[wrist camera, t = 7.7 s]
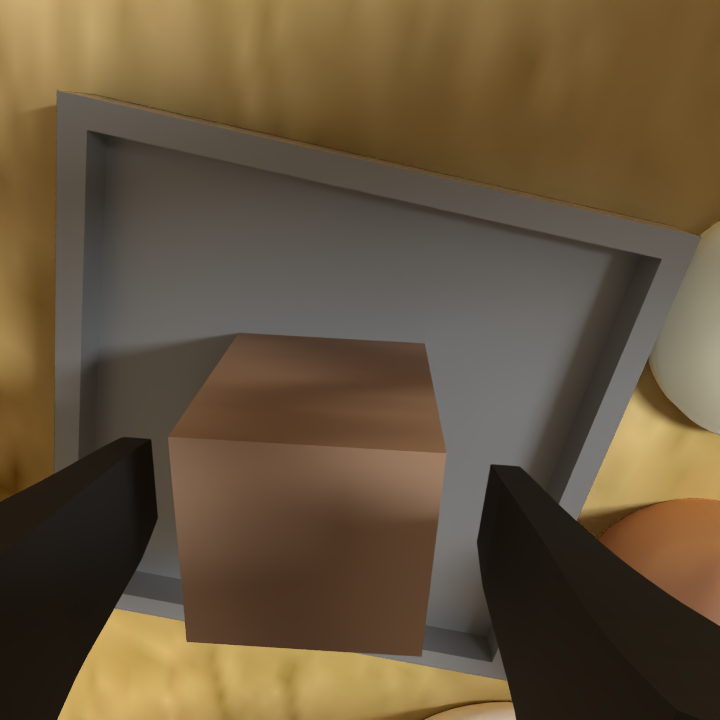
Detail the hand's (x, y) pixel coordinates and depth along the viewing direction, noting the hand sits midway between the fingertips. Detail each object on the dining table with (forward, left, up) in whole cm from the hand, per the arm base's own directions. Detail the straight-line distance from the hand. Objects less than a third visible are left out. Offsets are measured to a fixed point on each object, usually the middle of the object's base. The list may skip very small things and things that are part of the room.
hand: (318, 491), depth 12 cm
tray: (0, 0, -3) cm, 3 cm away
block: (0, 0, -3) cm, 3 cm away
